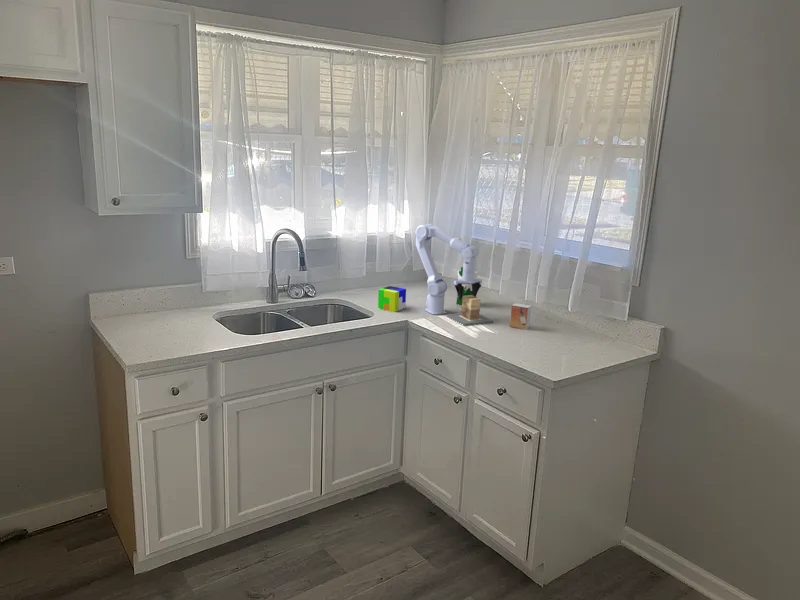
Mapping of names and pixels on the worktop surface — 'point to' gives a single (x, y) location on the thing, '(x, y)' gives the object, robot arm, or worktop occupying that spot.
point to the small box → (520, 316)
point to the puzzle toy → (392, 298)
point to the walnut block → (470, 313)
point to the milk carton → (465, 286)
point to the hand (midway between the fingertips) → (466, 298)
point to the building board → (469, 322)
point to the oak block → (471, 302)
